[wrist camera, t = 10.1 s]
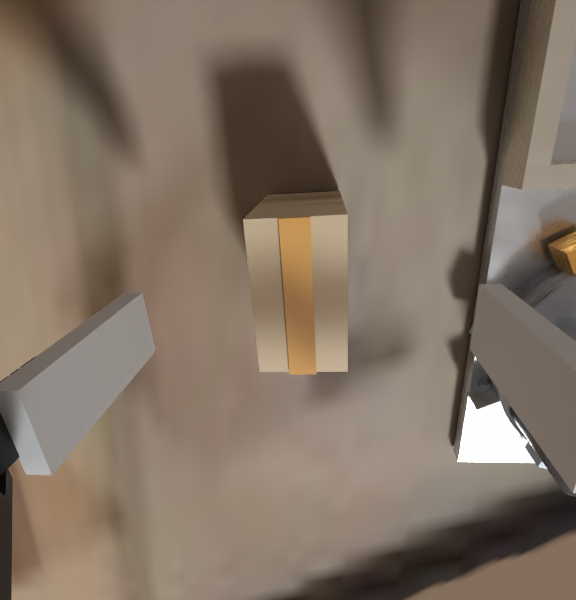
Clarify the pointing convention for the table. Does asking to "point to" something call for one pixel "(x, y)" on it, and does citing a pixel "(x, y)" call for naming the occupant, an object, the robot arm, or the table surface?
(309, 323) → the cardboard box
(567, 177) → the base plate
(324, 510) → the table surface
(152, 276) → the table surface
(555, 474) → the sprocket
